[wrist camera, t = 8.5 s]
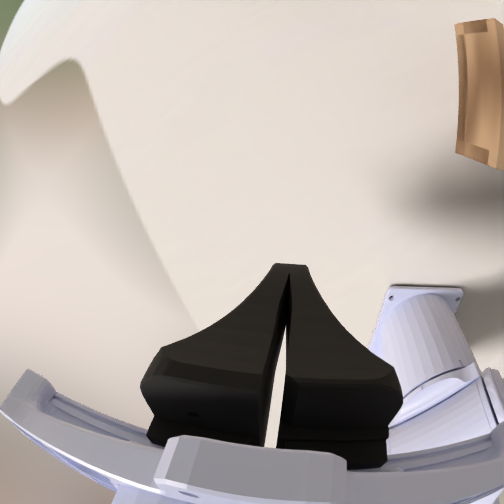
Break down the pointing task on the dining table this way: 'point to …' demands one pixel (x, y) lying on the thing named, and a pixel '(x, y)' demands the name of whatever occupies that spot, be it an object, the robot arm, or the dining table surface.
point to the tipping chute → (481, 91)
